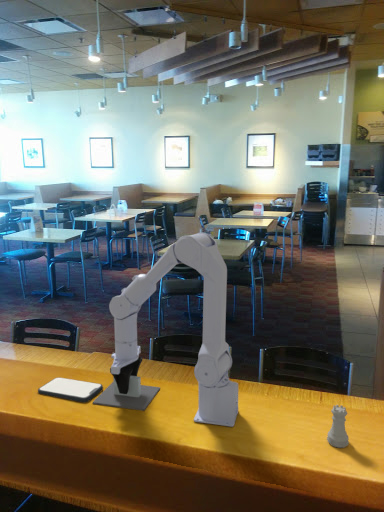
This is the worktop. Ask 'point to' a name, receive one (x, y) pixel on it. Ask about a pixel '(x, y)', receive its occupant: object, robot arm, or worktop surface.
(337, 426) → the rook chess piece
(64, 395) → the smartphone
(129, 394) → the block
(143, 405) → the mat
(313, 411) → the worktop surface
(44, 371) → the worktop surface
